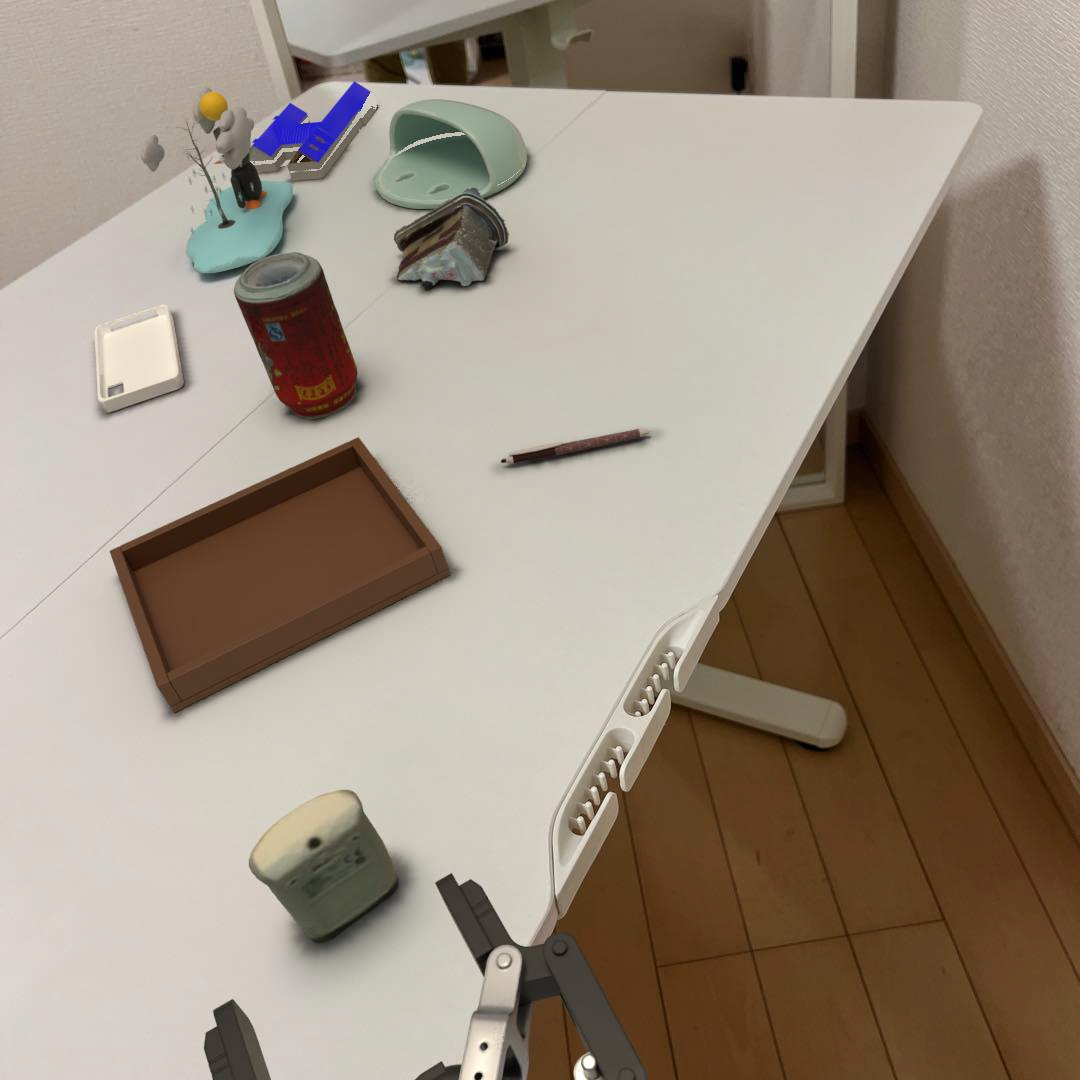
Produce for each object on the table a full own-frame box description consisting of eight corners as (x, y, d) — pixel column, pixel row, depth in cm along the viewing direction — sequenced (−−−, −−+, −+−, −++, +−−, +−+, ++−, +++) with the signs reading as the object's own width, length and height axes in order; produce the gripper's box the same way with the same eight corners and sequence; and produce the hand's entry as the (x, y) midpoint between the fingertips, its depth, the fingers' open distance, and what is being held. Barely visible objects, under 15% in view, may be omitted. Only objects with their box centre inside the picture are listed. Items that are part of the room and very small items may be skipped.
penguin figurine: (220, 202, 128) (167, 70, 118) (308, 186, 127) (262, 52, 117) (176, 289, 114) (111, 147, 104) (275, 272, 112) (219, 127, 102)
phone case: (185, 387, 98) (172, 313, 110) (179, 375, 98) (166, 301, 109) (104, 415, 98) (99, 337, 109) (97, 402, 97) (93, 326, 108)
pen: (502, 469, 81) (499, 458, 80) (501, 462, 82) (499, 452, 81) (653, 437, 81) (652, 426, 80) (651, 431, 81) (650, 420, 81)
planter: (550, 92, 115) (429, 156, 108) (562, 159, 120) (447, 224, 113) (441, 67, 127) (326, 123, 120) (456, 129, 132) (346, 186, 125)
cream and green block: (365, 973, 54) (313, 888, 49) (277, 946, 56) (218, 861, 51) (416, 871, 58) (373, 782, 52) (331, 849, 60) (282, 761, 54)
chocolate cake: (370, 295, 106) (420, 223, 96) (388, 241, 109) (438, 166, 99) (458, 338, 109) (515, 273, 99) (473, 284, 112) (529, 216, 103)
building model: (298, 115, 145) (289, 88, 143) (378, 107, 142) (370, 79, 139) (238, 185, 131) (227, 157, 129) (325, 178, 128) (315, 148, 126)
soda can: (273, 394, 95) (221, 267, 87) (350, 364, 96) (305, 236, 88) (293, 435, 90) (240, 303, 82) (374, 402, 91) (329, 270, 83)
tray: (173, 713, 69) (156, 687, 67) (124, 576, 80) (108, 550, 79) (450, 574, 74) (441, 546, 72) (368, 463, 85) (358, 436, 83)
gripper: (777, 1241, 27) (492, 790, 39) (240, 1632, 24) (104, 1010, 35) (790, 1321, 32) (534, 900, 44) (346, 1655, 29) (196, 1102, 40)
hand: (342, 949), depth 40 cm, fingers open, 8 cm apart
